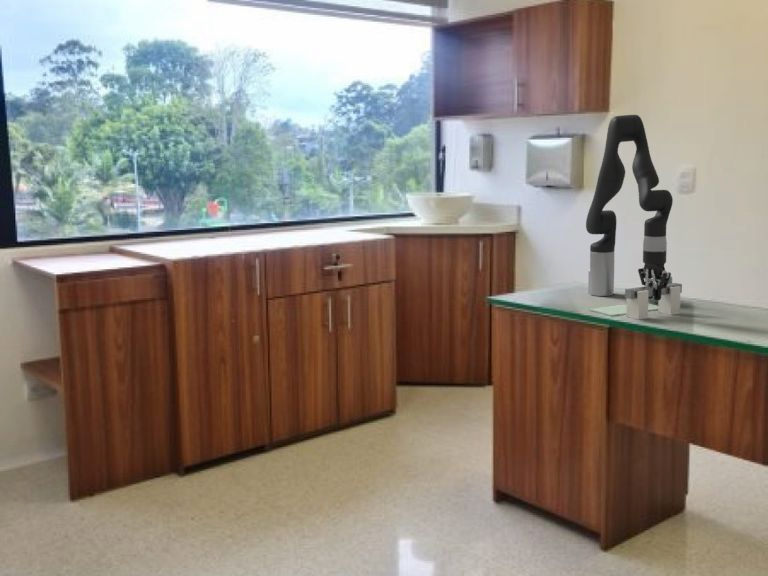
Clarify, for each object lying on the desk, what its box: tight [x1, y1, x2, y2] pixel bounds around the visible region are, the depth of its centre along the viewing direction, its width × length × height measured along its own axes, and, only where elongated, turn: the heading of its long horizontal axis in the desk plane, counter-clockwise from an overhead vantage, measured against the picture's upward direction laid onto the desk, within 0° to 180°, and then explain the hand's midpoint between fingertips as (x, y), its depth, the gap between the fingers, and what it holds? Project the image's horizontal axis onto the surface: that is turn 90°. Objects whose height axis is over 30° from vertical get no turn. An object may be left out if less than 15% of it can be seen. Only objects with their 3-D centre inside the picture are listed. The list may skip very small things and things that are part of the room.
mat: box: [588, 303, 658, 317], centre depth 275 cm, size 12×24×1 cm, turn 113°
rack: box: [625, 286, 681, 320], centre depth 264 cm, size 6×18×10 cm, turn 113°
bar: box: [624, 282, 683, 299], centre depth 263 cm, size 3×22×3 cm, turn 113°
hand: (653, 299), depth 263 cm, fingers closed on bar, 3 cm apart
